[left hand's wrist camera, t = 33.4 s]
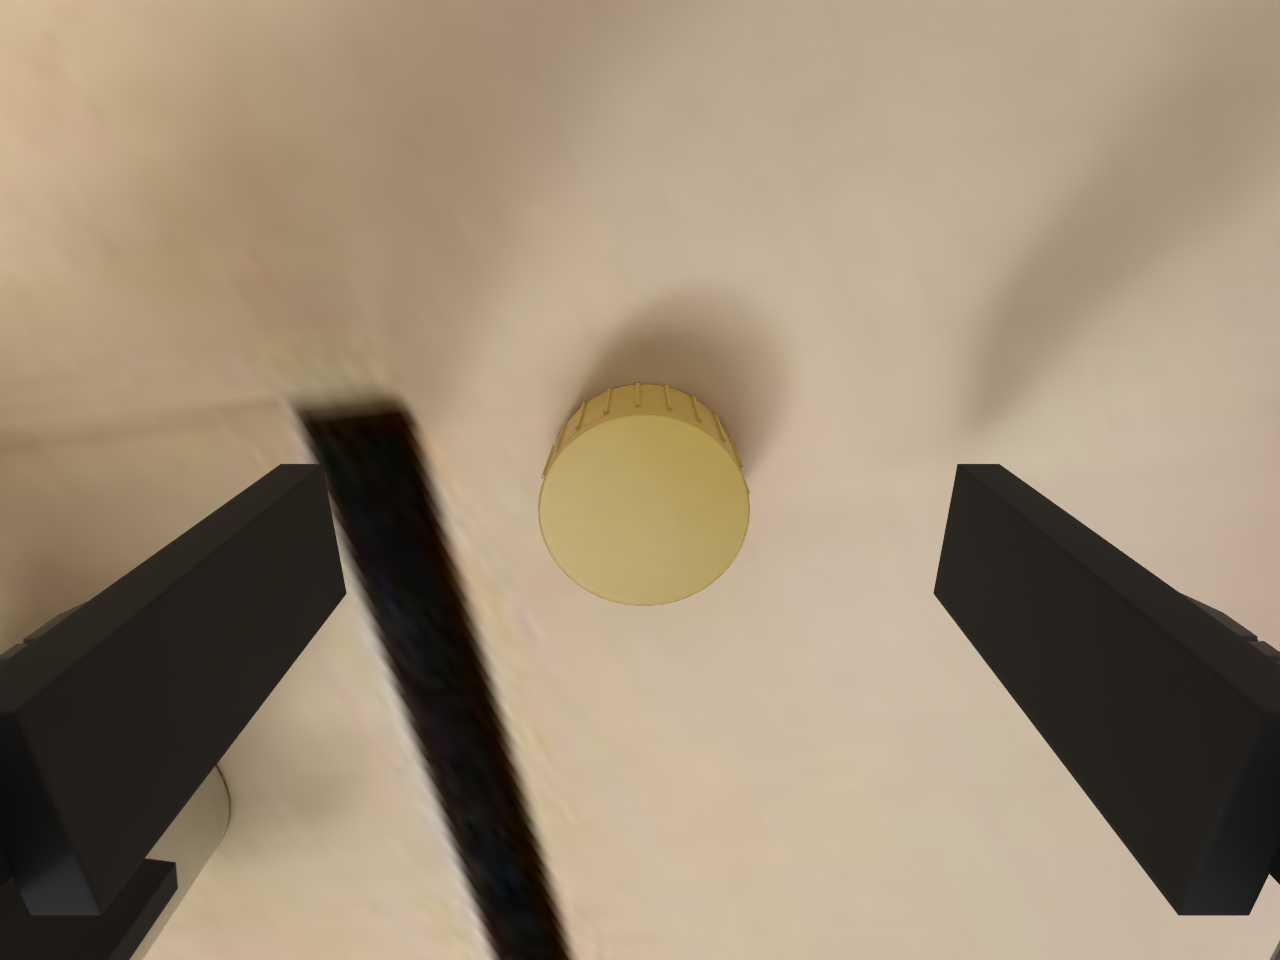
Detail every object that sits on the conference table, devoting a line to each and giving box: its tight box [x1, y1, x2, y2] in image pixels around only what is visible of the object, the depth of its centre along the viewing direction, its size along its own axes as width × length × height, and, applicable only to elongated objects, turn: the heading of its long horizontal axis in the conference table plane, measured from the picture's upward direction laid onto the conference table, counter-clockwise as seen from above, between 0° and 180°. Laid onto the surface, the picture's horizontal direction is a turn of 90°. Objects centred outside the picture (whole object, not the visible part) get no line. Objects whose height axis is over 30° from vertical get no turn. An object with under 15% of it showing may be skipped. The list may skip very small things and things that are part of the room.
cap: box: [539, 382, 750, 606], centre depth 14 cm, size 4×4×2 cm
